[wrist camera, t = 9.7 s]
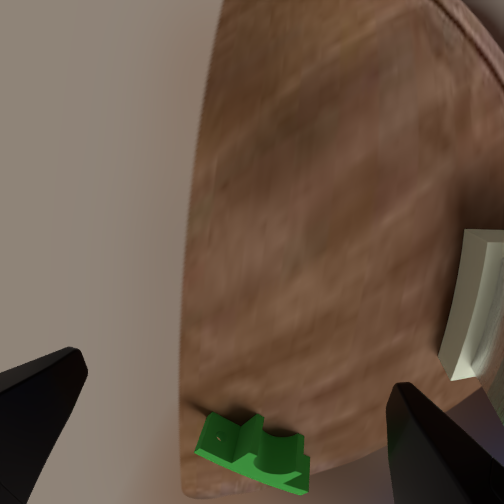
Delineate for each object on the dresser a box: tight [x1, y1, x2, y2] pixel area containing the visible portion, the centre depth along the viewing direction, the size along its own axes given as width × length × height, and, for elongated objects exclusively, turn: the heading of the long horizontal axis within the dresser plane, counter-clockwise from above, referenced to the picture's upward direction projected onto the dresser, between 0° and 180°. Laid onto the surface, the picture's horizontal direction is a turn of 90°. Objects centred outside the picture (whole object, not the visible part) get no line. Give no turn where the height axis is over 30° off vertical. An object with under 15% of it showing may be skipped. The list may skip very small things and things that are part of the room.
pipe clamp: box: [194, 412, 310, 495], centre depth 22 cm, size 11×4×5 cm, turn 56°
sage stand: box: [438, 229, 504, 381], centre depth 16 cm, size 10×8×3 cm
